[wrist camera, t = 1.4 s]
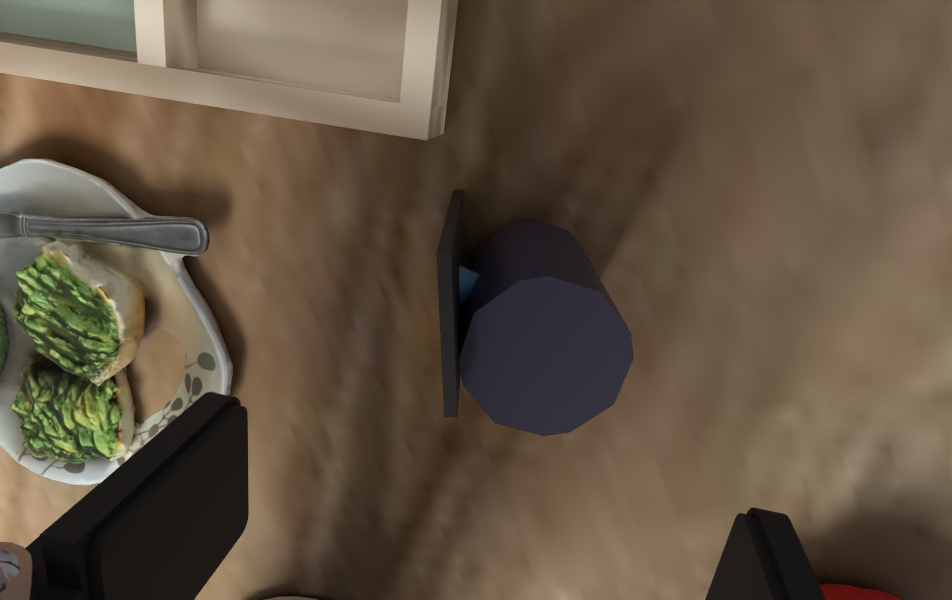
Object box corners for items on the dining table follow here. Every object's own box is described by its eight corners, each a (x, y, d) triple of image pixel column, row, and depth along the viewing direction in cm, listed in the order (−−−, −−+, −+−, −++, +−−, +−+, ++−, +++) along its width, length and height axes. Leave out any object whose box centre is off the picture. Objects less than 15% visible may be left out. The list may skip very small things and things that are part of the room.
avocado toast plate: (131, 60, 28) (49, 57, 23) (324, 389, 32) (285, 438, 28) (-130, 228, 33) (-235, 250, 29) (66, 489, 38) (-1, 543, 33)
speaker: (415, 302, 29) (368, 414, 19) (454, 186, 27) (424, 243, 17) (566, 353, 29) (596, 488, 20) (614, 243, 27) (674, 330, 18)
